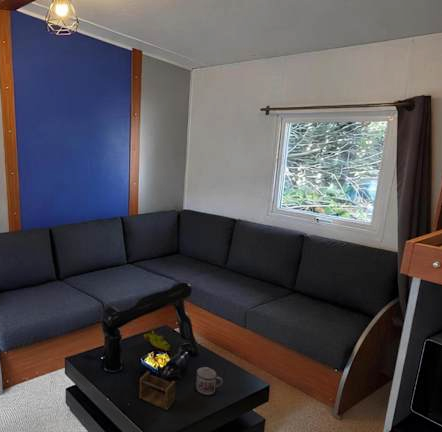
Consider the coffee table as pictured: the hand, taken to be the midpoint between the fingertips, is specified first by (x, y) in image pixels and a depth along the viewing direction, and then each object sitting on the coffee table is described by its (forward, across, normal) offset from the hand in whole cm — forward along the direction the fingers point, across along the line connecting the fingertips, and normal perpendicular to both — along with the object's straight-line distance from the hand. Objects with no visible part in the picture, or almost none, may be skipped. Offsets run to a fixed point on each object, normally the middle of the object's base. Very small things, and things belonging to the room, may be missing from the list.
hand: (160, 381), depth 187 cm
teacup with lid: (-17, +17, +7) cm, 25 cm away
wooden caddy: (+4, 0, +7) cm, 8 cm away
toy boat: (-37, -20, +7) cm, 43 cm away
